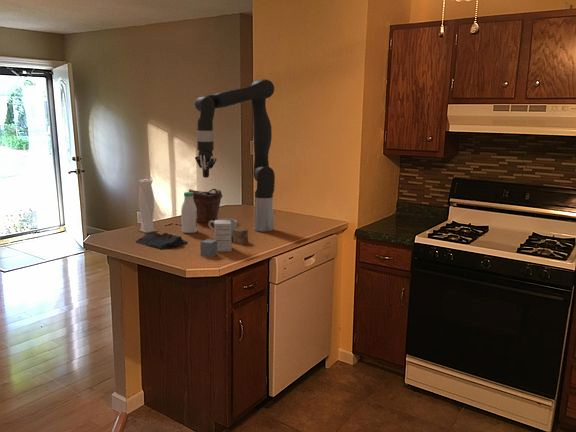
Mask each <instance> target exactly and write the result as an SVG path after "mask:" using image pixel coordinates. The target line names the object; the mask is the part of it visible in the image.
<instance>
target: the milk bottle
mask: <svg viewBox="0 0 576 432" xmlns="http://www.w3.org/2000/svg"><path fill="white" fill-rule="evenodd" d="M183 196H184V197H183V198H184V201H183V203H182V205H181V213H180V215H181V216H180V217H181V221H180V222H181V232H182V233H185V234H193V233H197V231H198V222H197V208H196V205H195V203H194V200H193V197H194V196H193V192H189V191H184V193H183Z"/></svg>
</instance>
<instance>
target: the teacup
mask: <svg viewBox="0 0 576 432" xmlns="http://www.w3.org/2000/svg"><path fill="white" fill-rule="evenodd" d="M217 220H231V238H233V230H235V229H238V228H237V227H238V226H237V225H238V224H237V222H238V220H237V219H234V218H217ZM214 222H215V221H210V222H208V224H207V225H208V227H209V229H210V230H212V232H214V227H212V224H214Z"/></svg>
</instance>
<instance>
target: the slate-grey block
mask: <svg viewBox="0 0 576 432" xmlns="http://www.w3.org/2000/svg"><path fill="white" fill-rule="evenodd" d="M199 244H200V245H199V246H200V256H202V257H209V258H212V257H214V256H216V255H218V252H217V241H216V240H215V239H204V240H202V241H200V242H199Z"/></svg>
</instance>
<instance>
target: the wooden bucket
mask: <svg viewBox="0 0 576 432" xmlns="http://www.w3.org/2000/svg"><path fill="white" fill-rule="evenodd" d="M188 192H193V196H194V197H193V200H194V203H195V205H196V208H197V223H209V222H210V221H215V220H218V215H219V210H220V206H221V200H222V198H223V194H222V190H221V189H216V188H212V189H210V190H209V191H200V190H193V189H191V188H189V189H188Z"/></svg>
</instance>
